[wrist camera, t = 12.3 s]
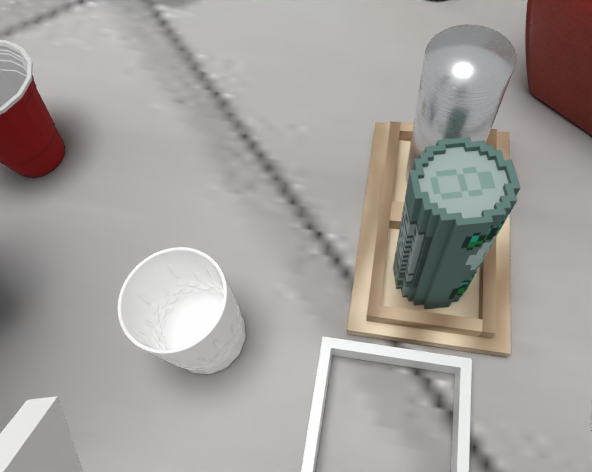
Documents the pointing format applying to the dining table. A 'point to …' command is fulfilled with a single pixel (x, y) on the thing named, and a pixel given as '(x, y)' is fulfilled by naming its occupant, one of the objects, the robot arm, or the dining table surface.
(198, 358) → the white cup
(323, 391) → the frame
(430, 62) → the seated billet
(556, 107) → the plant pot
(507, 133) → the wooden tray
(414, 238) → the can
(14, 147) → the plastic cup
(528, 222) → the dining table surface
